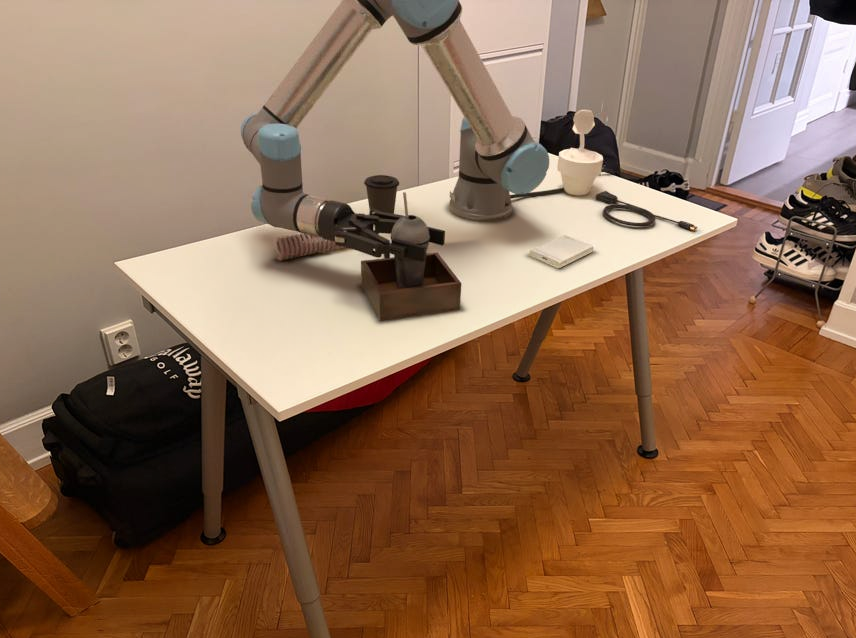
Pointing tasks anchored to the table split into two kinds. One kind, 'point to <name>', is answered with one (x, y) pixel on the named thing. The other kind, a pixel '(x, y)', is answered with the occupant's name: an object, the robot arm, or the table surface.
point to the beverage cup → (416, 233)
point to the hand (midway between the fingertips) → (434, 246)
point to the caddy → (410, 289)
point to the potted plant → (580, 159)
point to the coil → (302, 246)
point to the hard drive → (561, 251)
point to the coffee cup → (382, 192)
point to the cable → (612, 199)
